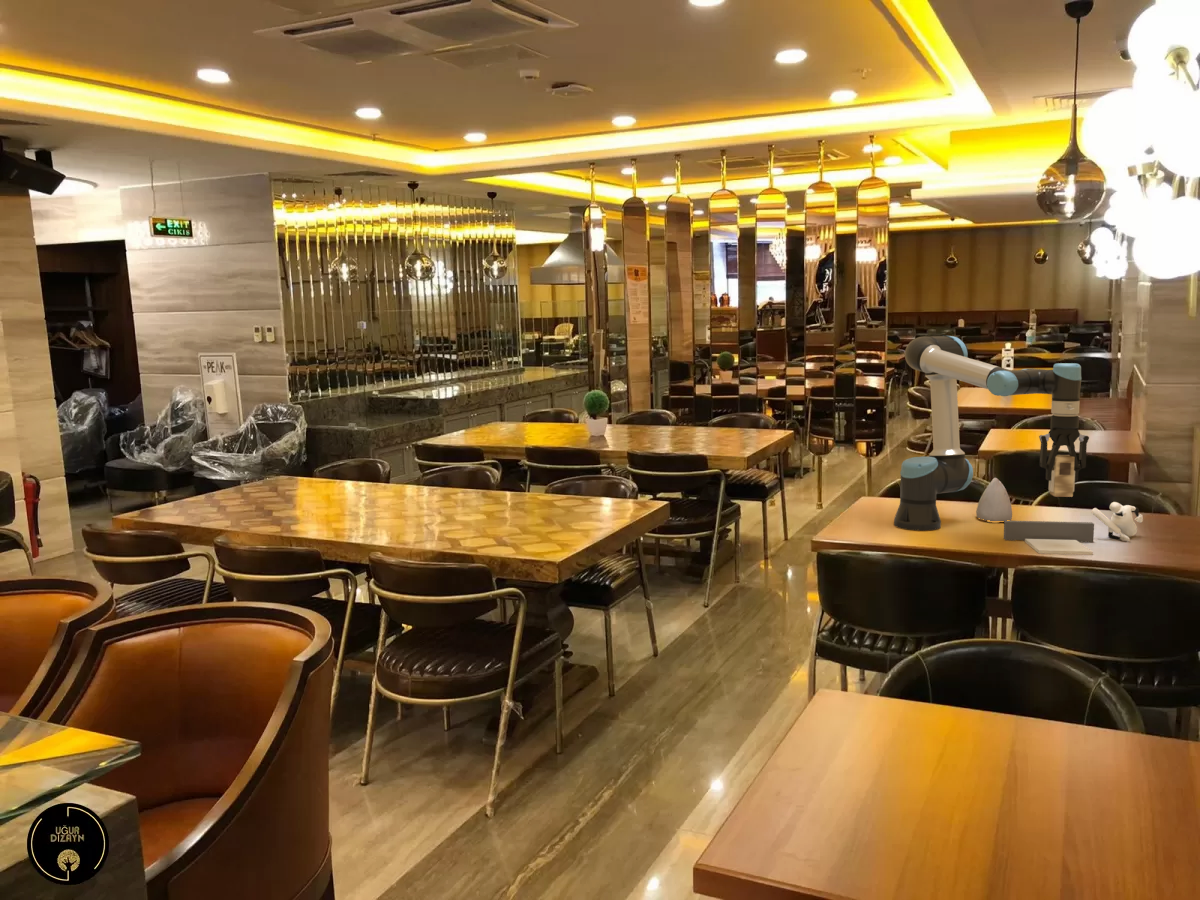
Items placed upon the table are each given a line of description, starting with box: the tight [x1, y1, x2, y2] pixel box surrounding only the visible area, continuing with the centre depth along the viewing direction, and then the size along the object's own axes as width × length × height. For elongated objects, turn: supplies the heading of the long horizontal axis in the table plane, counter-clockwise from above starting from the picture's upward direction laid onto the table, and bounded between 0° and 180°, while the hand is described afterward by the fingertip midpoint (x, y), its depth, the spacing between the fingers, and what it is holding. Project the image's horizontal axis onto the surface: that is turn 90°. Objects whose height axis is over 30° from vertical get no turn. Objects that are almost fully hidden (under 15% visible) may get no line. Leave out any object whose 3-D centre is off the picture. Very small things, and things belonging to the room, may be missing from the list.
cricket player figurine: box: [1090, 501, 1144, 542], centre depth 288 cm, size 13×10×15 cm
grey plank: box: [1003, 520, 1095, 543], centre depth 288 cm, size 26×2×6 cm, turn 80°
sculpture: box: [975, 477, 1013, 521], centre depth 319 cm, size 13×12×15 cm
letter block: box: [1049, 454, 1075, 498], centre depth 276 cm, size 5×5×12 cm
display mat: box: [1024, 539, 1094, 556], centre depth 279 cm, size 15×15×1 cm
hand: (1061, 491), depth 276 cm, fingers closed on letter block, 5 cm apart
